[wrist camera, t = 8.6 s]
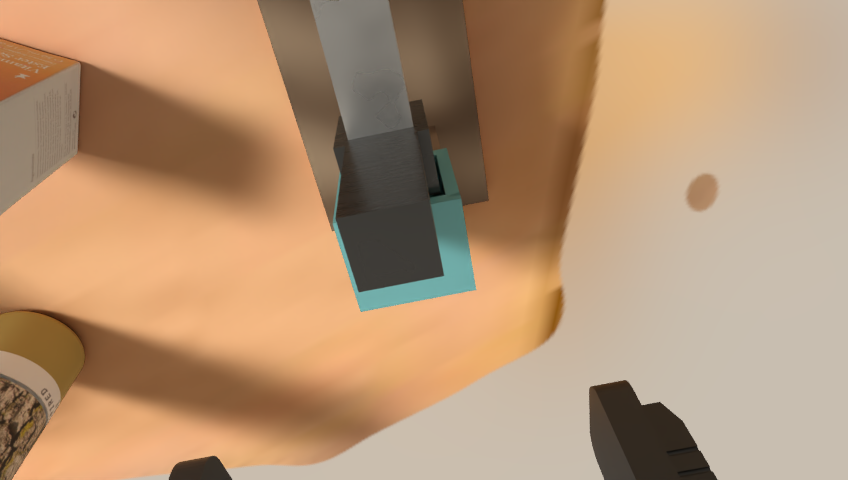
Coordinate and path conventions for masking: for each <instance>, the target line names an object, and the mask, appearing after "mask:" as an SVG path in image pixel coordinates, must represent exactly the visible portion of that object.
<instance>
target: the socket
mask: <svg viewBox="0 0 848 480" xmlns="http://www.w3.org/2000/svg"><path fill="white" fill-rule="evenodd" d="M433 154H434V160H435V165H436V170H437V176H438V181H439V187H440V192H441V193H440V194H435V195H430V201H431V206H432V212H433V217H434V223H435V228H436V234H437V239H438V244H439V250H440V255H441V261H442V266H443V272H444V276H442V277H437V278H432V279H426V280H421V281H416V282H411V283H406V284H400V285H395V286H390V287H385V288H380V289H374V290H369V291H364V292H358V289H357V286H356V282H355V279H354V276H353V273H352V270H351V267H350V263H349V260H348V257H347V254H346V251H345V248H344V244H343V241H342V238H341V235H340V232H339V229H338V225H337V222H336V219H335V218H336V210H337V203H338V195H339V187H340V180H341V174H339V181H338V188H337V195H336V202H335V209H334V216H333V227H334V230H335V233H336V236H337V239H338V242H339V246H340V249H341V252H342V255H343V258H344V261H345V264H346V267H347V270H348V274H349V277H350V280H351V283H352V286H353V289H354V292H355V295H356V298H357V302H358V305H359V308H360V311H361V312H363V311H368V310H373V309H378V308H384V307H389V306H394V305H399V304H404V303H410V302H415V301H420V300H425V299H431V298H436V297H441V296H446V295H452V294H457V293H462V292H467V291H472V290H476V286H475V280H474V274H473V268H472V262H471V256H470V249H469V243H468V237H467V231H466V225H465V219H464V213H463V206H462V200H461V196H460V193H459V189H458V186H457V182H456V179H455V175H454V172H453V168H452V165H451V162H450V158H449V155H448V151H447V148H443V149H438V150H433Z"/></svg>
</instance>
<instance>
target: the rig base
mask: <svg viewBox="0 0 848 480" xmlns="http://www.w3.org/2000/svg"><path fill="white" fill-rule="evenodd" d="M257 1H258V4H259V7H260V10H261V13H262V16H263V19H264V23H265V26H266V29H267V32H268V35H269V38H270V41H271V44H272V47H273V50H274V53H275V56H276V60H277V63H278V66H279V69H280V72H281V75H282V78H283V81H284V84H285V87H286V90H287V93H288V97H289V100H290V103H291V106H292V109H293V112H294V115H295V118H296V121H297V124H298V127H299V130H300V133H301V137H302V140H303V143H304V146H305V149H306V152H307V155H308V158H309V161H310V164H311V167H312V170H313V174H314V177H315V180H316V183H317V186H318V189H319V192H320V195H321V198H322V201H323V204H324V207H325V211H326V214H327V217H328V220H329V223H330V226H331V229H332V231H335V230H334V227H333V216H334V209H335V202H336V195H337V188H338V181H339V174H340V170H339V167H338V163H337V160H336V157H335V153H334V150H333V146H334V141H335V135H336V130H337V124H338V119H339V116H341V113H340V109H339V105H338V102H337V98H336V95H335V91H334V87H333V84H332V80H331V76H330V73H329V69H328V65H327V62H326V58H325V55H324V51H323V47H322V44H321V40H320V36H319V33H318V29H317V25H316V22H315V18H314V15H313V11H312V7H311V4H310V0H257ZM389 4H390V8H391V13H392V18H393V23H394V28H395V33H396V38H397V43H398V48H399V53H400V58H401V63H402V68H403V73H404V78H405V83H406V88H407V93H408V98H409V102H410V101H415V100H420V99H422V102H423V106H424V111H425V115H426V119H427V123H428V128H429V133H430V138H431V143H432V149H433V150H438V149H443V148H447V151H448V155H449V158H450V162H451V165H452V168H453V172H454V175H455V179H456V182H457V186H458V189H459V193H460V196H461V200H462V206H463V205H468V204H473V203H479V202H484V201H489V199H488V191H487V184H486V176H485V168H484V161H483V153H482V146H481V138H480V130H479V123H478V115H477V107H476V100H475V92H474V85H473V77H472V69H471V62H470V54H469V46H468V39H467V31H466V23H465V16H464V8H463V1H462V0H389Z"/></svg>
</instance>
